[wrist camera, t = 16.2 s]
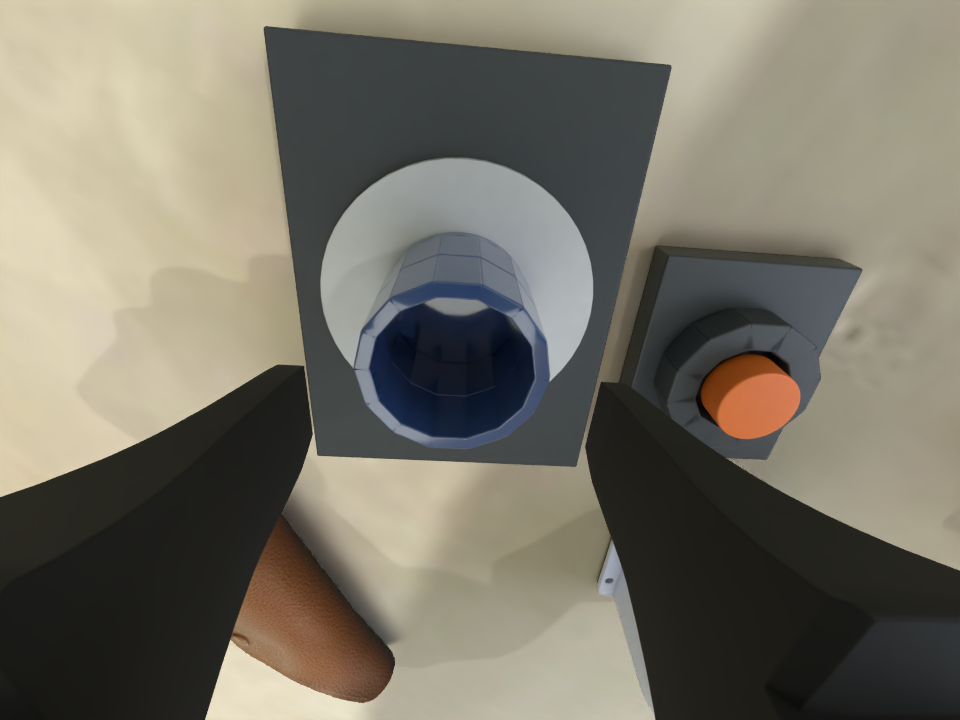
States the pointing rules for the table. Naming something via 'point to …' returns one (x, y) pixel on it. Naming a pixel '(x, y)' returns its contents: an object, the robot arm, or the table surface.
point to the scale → (458, 204)
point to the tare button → (750, 396)
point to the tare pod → (731, 329)
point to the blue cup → (453, 345)
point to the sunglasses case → (309, 625)
